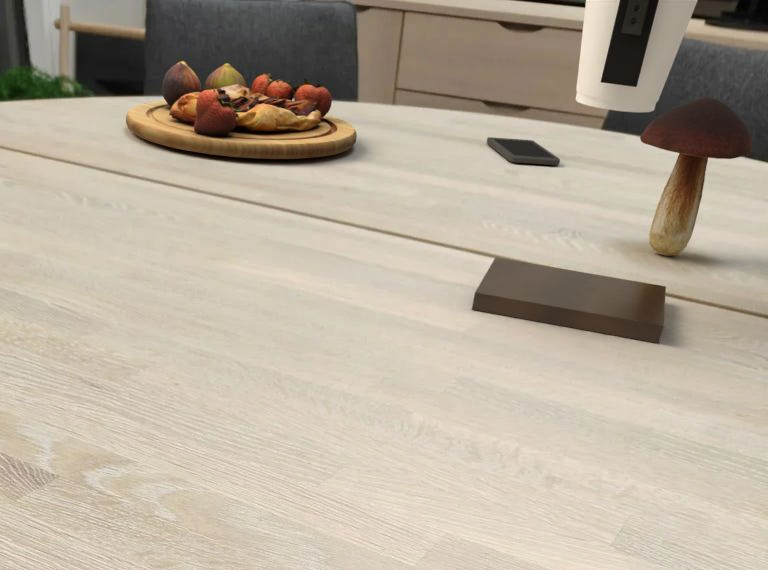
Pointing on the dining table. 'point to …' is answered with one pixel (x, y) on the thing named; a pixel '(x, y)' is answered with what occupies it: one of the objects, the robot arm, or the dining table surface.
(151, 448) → the dining table surface
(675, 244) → the decorative mushroom
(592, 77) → the foam cup
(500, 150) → the cell phone
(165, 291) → the dining table surface
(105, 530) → the dining table surface
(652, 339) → the walnut board
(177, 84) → the wooden plate
